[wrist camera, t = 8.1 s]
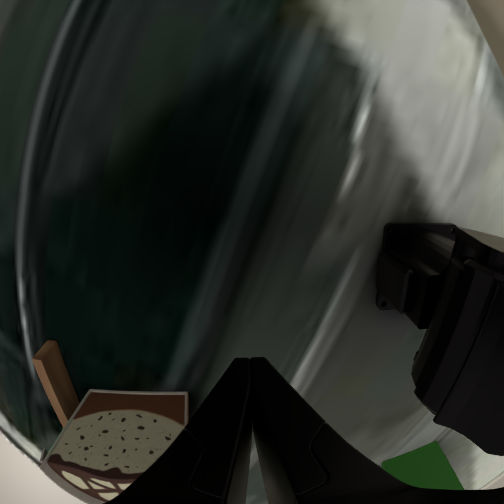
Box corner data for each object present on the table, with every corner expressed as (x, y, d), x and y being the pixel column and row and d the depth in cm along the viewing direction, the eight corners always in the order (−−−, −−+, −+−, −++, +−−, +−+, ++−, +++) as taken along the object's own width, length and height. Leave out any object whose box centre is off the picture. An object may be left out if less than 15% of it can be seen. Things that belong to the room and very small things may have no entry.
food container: (98, 431, 26) (69, 506, 17) (76, 387, 25) (34, 466, 15) (216, 436, 27) (212, 526, 17) (205, 390, 25) (195, 491, 15)
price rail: (56, 340, 23) (41, 360, 20) (105, 456, 28) (99, 476, 25) (45, 339, 23) (29, 358, 20) (96, 455, 28) (89, 474, 25)
